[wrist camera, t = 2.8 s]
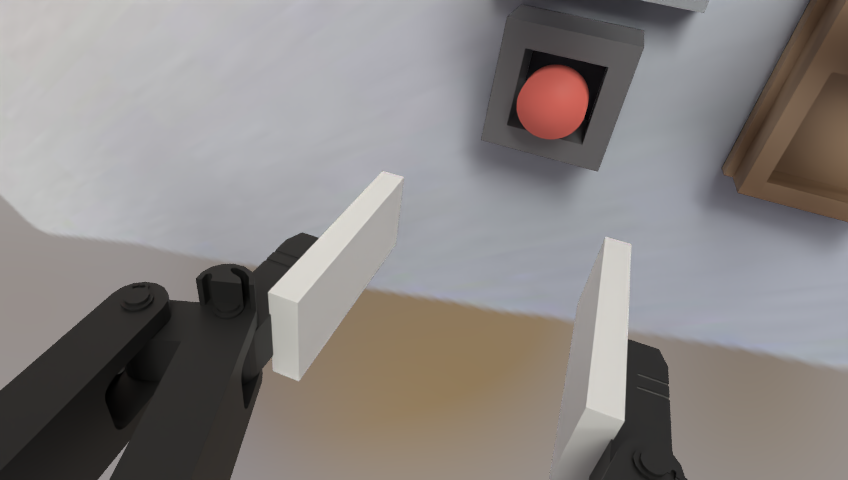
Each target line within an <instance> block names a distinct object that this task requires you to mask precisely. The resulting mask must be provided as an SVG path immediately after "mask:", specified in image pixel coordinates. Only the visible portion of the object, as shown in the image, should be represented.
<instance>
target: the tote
mask: <svg viewBox="0 0 848 480" xmlns="http://www.w3.org/2000/svg"><path fill="white" fill-rule="evenodd" d="M642 1H647V2H652V3H656V4H661V5H666V6H671V7H676V8H681V9H686V10H691V11H696V12H701V13H704V12H705V10H706V7H707V5H708V2H709V0H642Z"/></svg>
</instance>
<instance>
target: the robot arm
mask: <svg viewBox="0 0 848 480" xmlns="http://www.w3.org/2000/svg"><path fill="white" fill-rule="evenodd" d="M403 184H404V177H402V176H398V175H395V174H391V173H388V172H385V171H382V172H381V173H380V174H379V175H378V176H377V177H376V178H375V180H374V181H373V182H372V183H371V184H370V185H369V186H368V187H367V188H366V189H365V190H364V191H363V192H362V193H361V194H360V195H359V196H358V198H357V199H356V200H355V201H354V202H353V203H352V204H351V205H350V206H349V207H348V208H347V209H346V210H345V211H344V212H343V213H342V214H341V216H340V217H339V218H338V219H337V220H336V221H335V222H334V223H333V224H332V225H331V226H330V227H329V228H328V229H327V230H326V231H325V232H324V233H323V235H322V236H321V237H320V238H317V237H314V236H311V235H308V234H305V233H300V234H298V235H296V236H293V237H291V238H289V239H287V240H286V241H285V242H284V243H282V244H281V245H280V246H279V247H278V248H277V249H276V251H275V252H273V253H272V254H271V255H270V256H269V257H268V258H267V260H266V261H264V262H263V263H262V264H261V265H260V266H259V267H258V268H257V269H256V270H255V271H253V272H251V271H250V270H249V269H247V268H246V267H244V266H240V265H236V264H221V265H218V266H213V267H211V268H209V269H207V270H205V271H203V272H202V273H201V274H200V275H199V276H198V277H197V278H196V283H197V289H198V294H199V301H200V302H187V301H175V300H169V295H168V293H167V291H166V290H165V288H164V287H162V286H160V285H158V284H156V283H149V282H142V283H133V284H130V285H127V286H124V287H122V288H120V289H119V290H117V291H116V292H114V293H113V294H111V295H110V296H109V297H108V298H107V299H106V300H104V301H103V302H102V303H101V304H100V305H99V306H97V307H96V308H95V309H94V310H93V311H92V312H91V313H90V314H88V315H87V316H86V317H85V318H84V319H82V320H81V321H80V322H79V323H78V324H77V325H76V326H74V327H73V328H72V329H71V330H70V331H69V332H67V333H66V334H65V335H64V336H63V337H62V338H61V339H59V340H58V341H57V342H56V343H55V344H54V345H52V346H51V347H50V348H49V349H48V350H47V351H46V352H44V353H43V354H42V355H41V356H40V357H39V358H37V359H36V360H35V361H34V362H33V363H32V364H31V365H29V366H28V367H27V368H26V369H25V370H24V371H23V372H21V373H20V374H19V375H18V376H17V377H16V378H14V379H13V380H12V381H11V382H10V383H9V384H8V385H6V386H5V387H4V388H3V389H2V390H0V480H98V479H99V477H100V476H101V475H102V474H103V472H104V471H105V470H106V469H107V468H108V466H109V465H110V464H111V463H112V461H113V460H114V459H115V458H116V457H117V455H118V454H119V453H120V452H121V450H122V449H123V448H124V447H125V446H126V444H127V443H128V442H129V443H128V445H127V447H126V449H125V451H124V453H123V455H122V457H121V459H120V460H119V462H118V464H117V466H116V468H115V470H114V472H113V474H112V476H111V478H110V480H230V478H231V475H232V472H233V469H234V466H235V462H236V460H237V457H238V453H239V450H240V447H241V444H242V441H243V438H244V435H245V432H246V429H247V426H248V423H249V419H250V417H251V414H252V410H253V407H254V404H255V401H256V398H257V395H258V392H259V389H260V386H261V383H262V374H263V373H262V368H263V367H264V366H265V365H266V363H267V362H268V361H269V360H270V358H271V357H272V365H273V371H274V372H277V373H279V374H282V375H284V376H287V377H289V378H292V379H295V380H297V381H300V379H301V378H302V376H303V375H304V374H305V372H306V371H307V369H308V368H309V366H310V365H311V364H312V362H313V361H314V359H315V358H316V357H317V355H318V354H319V352H320V351H321V350H322V348H323V347H324V345H325V344H326V343H327V341H328V340H329V338H330V337H331V335H332V334H333V333H334V331H335V330H336V328H337V327H338V325H339V324H340V323H341V321H342V320H343V319H344V317H345V316H346V314H347V313H348V311H349V310H350V309H351V307H352V306H353V304H354V303H355V302H356V300H357V299H358V297H359V296H360V294H361V293H362V292H363V290H364V289H365V288H366V286H367V285H368V283H369V282H370V280H371V279H372V278H373V276H374V275H375V273H376V272H377V271H378V269H379V268H380V266H381V265H382V264H383V262H384V261H385V259H386V258H387V256H388V255H389V254H390V252H391V251H392V249H393V248H394V247H395V245H396V240H397V232H398V224H399V216H400V208H401V200H402V192H403ZM630 266H631V244H629V243H626V242H622V241H619V240H615V239H612V238H609V237H605V239H604V241H603V244H602V246H601V249H600V251H599V254H598V256H597V258H596V261H595V263H594V266H593V268H592V270H591V273H590V275H589V278H588V280H587V282H586V285H585V287H584V290H583V292H582V294H581V297H580V299H579V302H578V305H577V311H576V317H575V324H574V330H573V336H572V343H571V348H570V354H569V361H568V366H567V373H566V379H565V385H564V391H563V397H562V403H561V409H560V415H559V422H558V427H557V434H556V440H555V446H554V452H553V459H552V464H551V470H550V476H549V480H687V479H686V478H685V476H684V473H683V470H682V467H681V465H680V463H679V462H678V461H677V459H676V458H675V456H674V455H673V452H672V439H671V420H670V400H669V386H668V384H669V378H668V366H667V364H666V362H665V360H664V358H663V356H662V354H661V352H660V351H659V349H656V348H653V347H650V346H647V345H644V344H641V343H638V342H635V341H632V340H629V339H628V318H629V292H630Z"/></svg>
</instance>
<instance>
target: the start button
mask: <svg viewBox="0 0 848 480" xmlns="http://www.w3.org/2000/svg"><path fill="white" fill-rule="evenodd" d="M588 102H589V90H588V86H587V84H586V82H585V80H584V78H583V77H582V76H581V75H580V74H579V73H578V72H577V71H576V70H574V69H573V68H571V67H568V66H565V65H560V64H553V65H548V66H544V67H542V68H540V69H538V70H537V71H535V72H534V73H533V74H532V75H531V76H530V77H529V78H528V80H527V81H526V83H525V84H524V86H523V87H522V89H521V91H520V93H519V95H518V98H517V114H518V117H519V120H520V122H521V123H522V125H523V126H524V127H525V129H526V130H527V131H529V132H530V133H531V134H533V135H535V136H537V137H540V138H543V139H559V138H563V137H565V136H567V135H569V134H571V133H572V132H574V131H575V130H576V129H577V128H578V127H579V126H580V124H581V123H582V121H583V119H584V117H585V114H586V110H587V106H588Z"/></svg>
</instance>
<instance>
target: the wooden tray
mask: <svg viewBox="0 0 848 480" xmlns="http://www.w3.org/2000/svg"><path fill="white" fill-rule="evenodd" d="M722 170H723V174H724V175H726V176H730V177H733V179H734V183H735V186H736V189H737V192H738V193H740V194H744V195H748V196H752V197H755V198H759V199H763V200H767V201H771V202H774V203H778V204H782V205H786V206H789V207H793V208H797V209H801V210H804V211H808V212H812V213H816V214H820V215H823V216H827V217H831V218H835V219H838V220H842V221H846V222H848V0H810V2H809V4H808V6H807V8H806V9H805V11H804V13H803V15H802V17H801V19H800V21H799V23H798V25H797V27H796V28H795V30H794V32H793V34H792V36H791V38H790V40H789V42H788V44H787V46H786V47H785V49H784V51H783V53H782V55H781V57H780V59H779V61H778V63H777V64H776V66H775V68H774V70H773V72H772V74H771V76H770V78H769V80H768V82H767V83H766V85H765V87H764V89H763V91H762V93H761V95H760V97H759V99H758V101H757V102H756V104H755V106H754V108H753V110H752V112H751V114H750V116H749V118H748V119H747V121H746V123H745V125H744V127H743V129H742V131H741V133H740V135H739V137H738V138H737V140H736V142H735V144H734V146H733V148H732V150H731V152H730V154H729V155H728V157H727V159H726V161H725V163H724V165H723V167H722Z"/></svg>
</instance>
